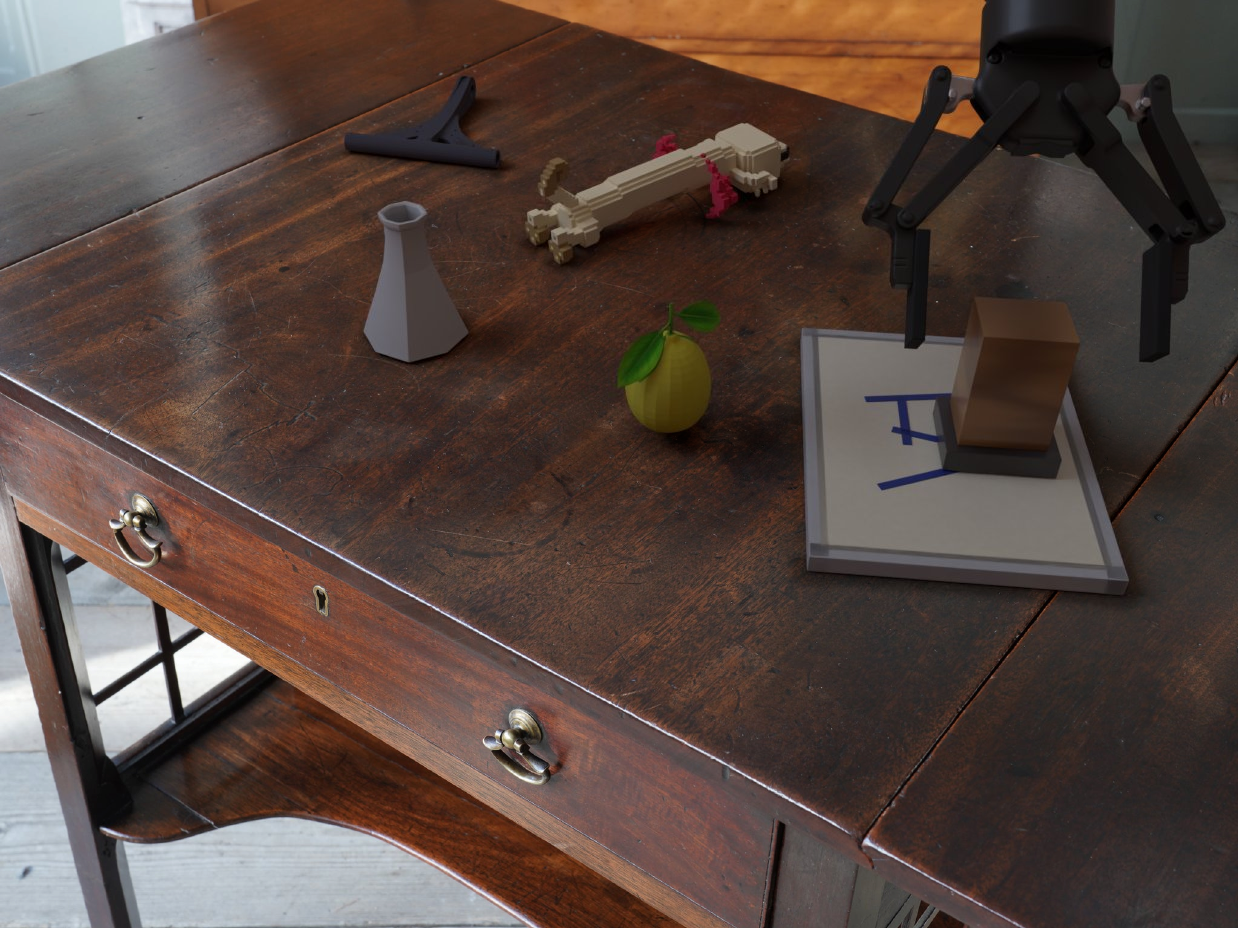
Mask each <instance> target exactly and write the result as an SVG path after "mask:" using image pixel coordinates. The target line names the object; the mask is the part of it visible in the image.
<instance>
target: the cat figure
mask: <svg viewBox="0 0 1238 928" xmlns="http://www.w3.org/2000/svg"><path fill="white" fill-rule="evenodd" d="M673 140H676V135H675V134H674V133H672V134H667V135H663V136H661V139H658V140H657V141H656V142H655V153H654V154H653V155H652V159H651V160H648V161H646V162H643V163H641V164H638V165H636V166H633V167H631V168H629V169H626V170H623V171H621V172H618V173H616V174H613V175H611V176H608V177H606V179H605V180H604V181H603V182H602V183H600V184H597V185H594V186H592V187H590V188H587V189H584V190H582V191H579V192H577V193H576V194H575V195H574V194H573V193H571V192H569V191H567V190H566V189H564V188H563V187H561V182H562V181H565V180H567V176H568V175H570V164H569V162H567V161H566V160H564V159H563V158H561V157H560V156H558V157H555V158H552V159H550V160H548V164H546V165H545V168H544V169H543V170H542V174H540V175H539V177H540V182H537V189H538V194H539V195H540V196H542V197H543V198H545V199H547V200H548V201H550V202H552V203H554V204H553V205H552V206H550V209H549V210H545V209H541V210H539V209H537V208H535V209H532V210H530V211H529V210H528V211H527V212H526V217H527V220H526V221H525V222H524V229H525V233H526V234H528V235H529V240H530V242H531V243H532V244H533V245H534V246H536V247H537V246H539V245H542V244H544V243H546V240H547V242H548V251H549V252H551V253H552V254H553V260H554V261H555V262H556V263H557V264H558V265H563V264H566V263H568V262H570V261H571V259H573V258H574V252H573V247H574V246H576V245H579V246H580V247H581V246H582V247H583V248H584V249H586V248H588V247H590V246H592V245H595V244H597V243H598V242H599V241H600V239H601V233H600V232H602V230H603V229H604V228H607V227H609V226H611V225H614V224H616V223H619V222H622V221H623V220H626V219H628V218H630V216H632V215H633V213H635V212H637V211H639V210H642V209H644V208H646V207H650V206H651V205H654V204H656V203H658V202H660V201H664V200H666V199H668V198H671V197H672V196H675V195H677V194H680V193H682V194H683V195H685V194H687V193H690V192H692V191H695V190H698V189H699V188H703V187H704V186H707V185H709V192H710V194H712V195H711V197H712V198H711V200H712V204H713V205H714V206H711V207H709V213H706V214H705V218H706V219H707V220H709V219H711V220H713V219H716V217H719V218H720V217H722V216H723V212H725V211H727V210H729V209H730V206H732V205H734V204H736V203H737V202H738V201H739V194H738V193H736V192H735V191H734V187H735V188H737V189H739V190H740V191H742V192H743V193H745V194H746V193H750V194H752V193H754V196H755V197H756V198H759V197H760V196H761V190H762V193H764V194H768V193H769V190H770V191H773V190H776V189H778V178H780V176H781V169H782V168H784V167H785V164H786V163H788V162H790V157H789V156H790V146H788V145H787V144H785V143H784V142H783V141H779V140H777V139H776V138H775V137H773V136H771V135H769V134H768V133H766V132H764V131H763V130H760V129H759V128H757V127H755V126H754V125H752V124H751V123H747V122H746V123H743V122H741V123H739V124H735V125H734V126H733V125H732V126H731V127H728V128H726V129H723V130H720V131H718V132H717V133H716V134H715V136H714V140H713V139H712V138H706V139H704V140H703V141H702V142H699V143H697V144H696V145H694V146H692V147H689V148H687V149H683V148H679V147H677V143H676V142H672V141H673ZM671 142H672V143H671ZM732 186H734V187H732ZM553 226H554V227H556V228H554V229H552V230H550V235H551V239H550V238H549V236H550V235H549V228H550V227H553Z"/></svg>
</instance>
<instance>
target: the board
mask: <svg viewBox="0 0 1238 928" xmlns="http://www.w3.org/2000/svg"><path fill="white" fill-rule="evenodd" d="M964 338H965V337H955V336H954V337H953V336H941V335H925V341H924V342H923V343H922V344H921V345H920V346H919V348H918V349H904V342H905V333H895V332H894V333H892V332H878V331H877V332H876V331H862V330H861V331H860V330H847V329H846V330H845V329H830V328H829V329H828V328H814V327H813V328H812V327H802V328H801V333H800V341H799V343H800V346H799V347H800V376H801V378H800V379H801V380H800V381H801V410H802V411H801V413H802V414H801V416H802V445H803V446H802V447H803V448H802V449H803V481H804V482H803V484H804V517H805V548H806V551H805V552H806V553H805V554H806V571H807V572H818V573H830V574H831V573H833V574H845V575H856V576H857V575H858V576H872V577H873V576H874V577H881V578H882V577H883V578H895V579H896V578H897V579H910V580H921V581H922V580H923V581H936V582H947V583H948V582H949V583H961V584H973V585H974V584H975V585H988V586H989V585H990V586H1001V587H1002V586H1003V587H1013V588H1015V587H1016V588H1025V589H1026V588H1027V589H1039V590H1040V589H1041V590H1053V591H1068V592H1079V593H1080V592H1081V593H1091V594H1103V595H1114V596H1115V595H1116V596H1124V594H1125V592H1126V589H1127V587H1128V585H1129V581H1130V579H1129V576H1128V573H1127V570H1126V566H1125V564H1124V560H1123V558H1122V554H1121V551H1120V548H1119V544H1118V542H1117V537H1116V535H1115V532H1114V528H1113V525H1112V523H1111V518H1110V516H1109V513H1108V510H1107V506H1106V502H1105V500H1104V496H1103V494H1102V491H1101V488H1100V484H1099V481H1098V478H1097V474H1096V472H1095V468H1094V464H1093V461H1092V459H1091V456H1090V453H1089V449H1088V446H1087V443H1086V440H1085V436H1084V434H1083V430H1082V427H1081V424H1080V421H1079V418H1078V414H1077V411H1076V408H1075V405H1074V402H1073V398H1072V395H1071V392H1070V389H1069V386H1067V389H1066V392H1065V396H1064V399H1063V402H1062V406H1061V409H1060V412H1059V415H1058V419H1057V422H1056V425H1055V429H1054V435H1055V439H1056V442H1057V445H1058V449H1059V452H1060V455H1061V459H1062V462H1061V465H1060V468H1059V471H1058V474H1057V477H1056V478H1044V477H1030V476H1016V475H1003V474H989V473H976V472H962V471H948V470H942V464H941V459H940V453H939V447H938V441H937V435H936V430H935V424H934V418H933V410H934V405H935V401H936V397H937V396H949V397H951V394H952V390H953V386H954V381H955V377H956V373H957V368H958V364H959V360H960V355H961V351H962V347H963V342H964Z"/></svg>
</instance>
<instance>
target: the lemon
mask: <svg viewBox="0 0 1238 928" xmlns="http://www.w3.org/2000/svg"><path fill="white" fill-rule="evenodd" d="M668 306H669V309H668V315H669V316H668V319H669V320H668V322H667V324H666V325H665V326H664V327H662V328H661V329H659V330H654V331H652V332H651V331H650V332H647V333H645V334H643V335H640V337H638V338H637V339H636V340H634V341H633V342H632V343H631V345H630V346H629V348H627V350H626V352H625V353H624V354H623V357H622V360H621V361H620V364H619V366H618V369H617V388H618V389H620V388H623V387H624V391H625V397H626V401H627V404H628V407H629V409H630V411H631V413H632V414H633V416H634V417H635V418H636V420H637V421H638V422H639V423H640V424H641V425H643V426H644V427H645V428H647V429H648V430H650V431H653V432H657V433H664V434H669V433H670V434H671V433H679V432H682V431H685V430H688V429H690V428H691V427H693V426H694V425H695V424H696V423H697V422H698V421H700V419H701V418H702V417H703V416H704V415H705V413H706V411H707V408H708V407H709V402H710V396H711V391H712V375H711V371H710V367H709V364H708V361H707V359H706V355H705V354H704V351H703V350H702V349H701V347H700V346H699V344H698V343H697V342H696V341H695V340H694V339H693V338H692V337H690V336H689V335H687V334H685V333H684V332H680V331H676V330H674V315H676V316H677V317H678V318H680V319H681V320H682V321H683V322H684V323H685V324H686V325H688V326H689V327H691V328H692V329H693V330H695V331H698V332H701V333H705V334H706V333H711V332H713V331H714V330H716V329H717V327H718V325H719V323H720V322H721V320H722V317H721V316H720V313H719V311H718V309H717V307H716V306H715V304H713V302H711V301H709V300H700V301H699V300H698V301H696V302H693V303H690V304H689V305H687V306H686V307H685V308H683V309H682V310H680V311H679V312H677V311H674V302H669V305H668ZM667 328H668V330H666V329H667Z"/></svg>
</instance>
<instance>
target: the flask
mask: <svg viewBox="0 0 1238 928" xmlns="http://www.w3.org/2000/svg"><path fill="white" fill-rule="evenodd" d="M428 214H429V213H428V212H427V211H426V210H425V208H424V207H423V205H422V204H418V203H415V202H411V201H408V200H404V201H400V202H394V203H390V204H387V205H386V206H385V207H383V208H382V209H380V210H379V211H377V217H378V219H379V221H380V223H381V224H382V226H383V231H384V248H383V261H382V266H381V268H380V269H381V270H380V273H379V277H378V281H377V284H376V288H375V291H374V296H373V299H372V302H371V305H370V308H369V311H368V314H367V317H366V321H365V325H364V328H363V333H364V335H365V337H366V338H367V340H368V342H369V344H370V345H371V347H372V348H373V350H374V352H376V353H378V354H382V355H385V356H388V357H390V358H394V359H396V360H400V361H403V362H407V363H412V362H415V361H416V362H417V361H420V360H423V359H428V358H431V357H435V356H439V355H443V354H446V353H448V352H450V351H451V350H452V349H453V348H454V347H455V346H456V345H457V344H458V343H459V342H461V341H462V339H463V338H465V337H466V336H467V335H468V334H469V330H468V329H467V327H466V325H465V323H464V321H463V319H462V317H461V316H460V313H459V311H458V309H457V308H456V306H455V304H454V301H453V300H452V298H451V297H450V295H449V293H448V291H447V288H446V287H445V285H444V283H443V280H442V278H441V276H440V274H439V272H438V270H437V268H436V266H435V264H434V261H433V258H432V256H431V252H430V249H429V246H428V242H427V238H426V230H425V229H426V228H425V222H427V221H428V218H429V215H428Z"/></svg>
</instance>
